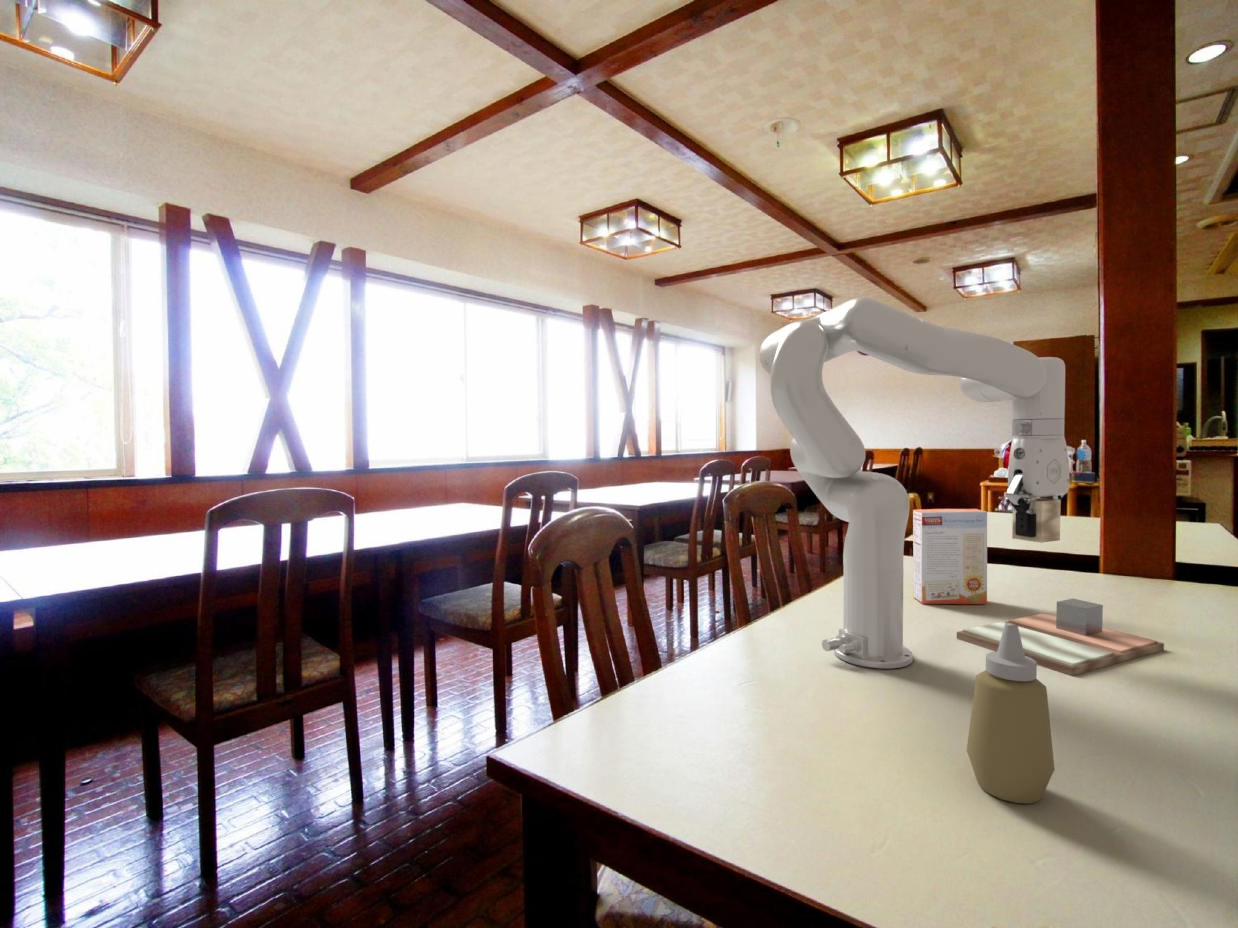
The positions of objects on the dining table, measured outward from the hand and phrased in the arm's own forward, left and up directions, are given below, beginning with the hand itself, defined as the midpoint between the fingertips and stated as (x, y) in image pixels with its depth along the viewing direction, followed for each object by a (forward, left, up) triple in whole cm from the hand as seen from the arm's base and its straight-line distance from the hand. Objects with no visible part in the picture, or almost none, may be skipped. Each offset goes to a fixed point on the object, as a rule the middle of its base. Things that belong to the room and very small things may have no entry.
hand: (1036, 533), depth 108 cm
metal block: (+13, 0, -19) cm, 23 cm away
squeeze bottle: (-46, -26, -21) cm, 56 cm away
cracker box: (+14, +28, -21) cm, 38 cm away
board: (+6, 0, -21) cm, 21 cm away
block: (0, 0, -1) cm, 1 cm away
